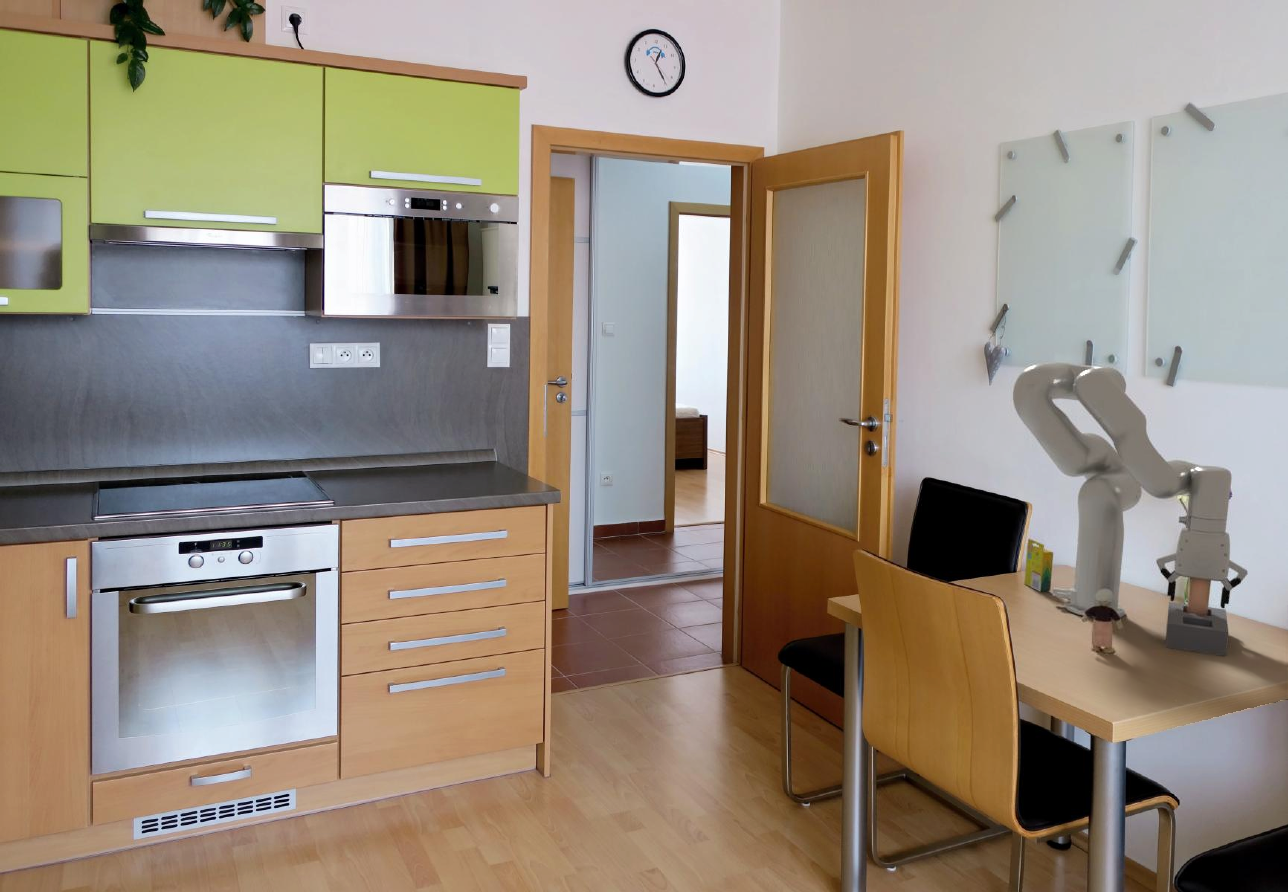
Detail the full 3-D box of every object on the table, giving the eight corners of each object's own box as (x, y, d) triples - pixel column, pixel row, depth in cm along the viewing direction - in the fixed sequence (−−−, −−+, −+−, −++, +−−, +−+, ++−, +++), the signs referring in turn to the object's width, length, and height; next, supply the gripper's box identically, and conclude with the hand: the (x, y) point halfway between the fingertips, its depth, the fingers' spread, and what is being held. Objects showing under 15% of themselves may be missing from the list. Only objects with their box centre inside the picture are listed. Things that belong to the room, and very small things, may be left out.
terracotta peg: (1185, 627, 232) (1190, 577, 231) (1185, 622, 236) (1190, 573, 234) (1206, 630, 231) (1211, 580, 229) (1205, 625, 234) (1211, 575, 232)
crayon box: (1050, 591, 263) (1054, 544, 262) (1039, 592, 263) (1043, 545, 261) (1034, 583, 270) (1038, 537, 269) (1023, 583, 270) (1027, 538, 268)
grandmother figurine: (1119, 649, 222) (1124, 588, 220) (1120, 654, 218) (1126, 593, 216) (1078, 644, 224) (1083, 584, 222) (1079, 649, 220) (1084, 589, 219)
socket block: (1165, 646, 224) (1167, 623, 223) (1166, 623, 240) (1169, 601, 239) (1225, 656, 219) (1228, 632, 218) (1223, 631, 235) (1225, 609, 234)
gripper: (1160, 522, 230) (1152, 601, 233) (1253, 533, 223) (1243, 614, 225) (1161, 516, 237) (1153, 592, 240) (1251, 526, 230) (1242, 605, 232)
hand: (1197, 603), depth 233 cm, fingers open, 9 cm apart
